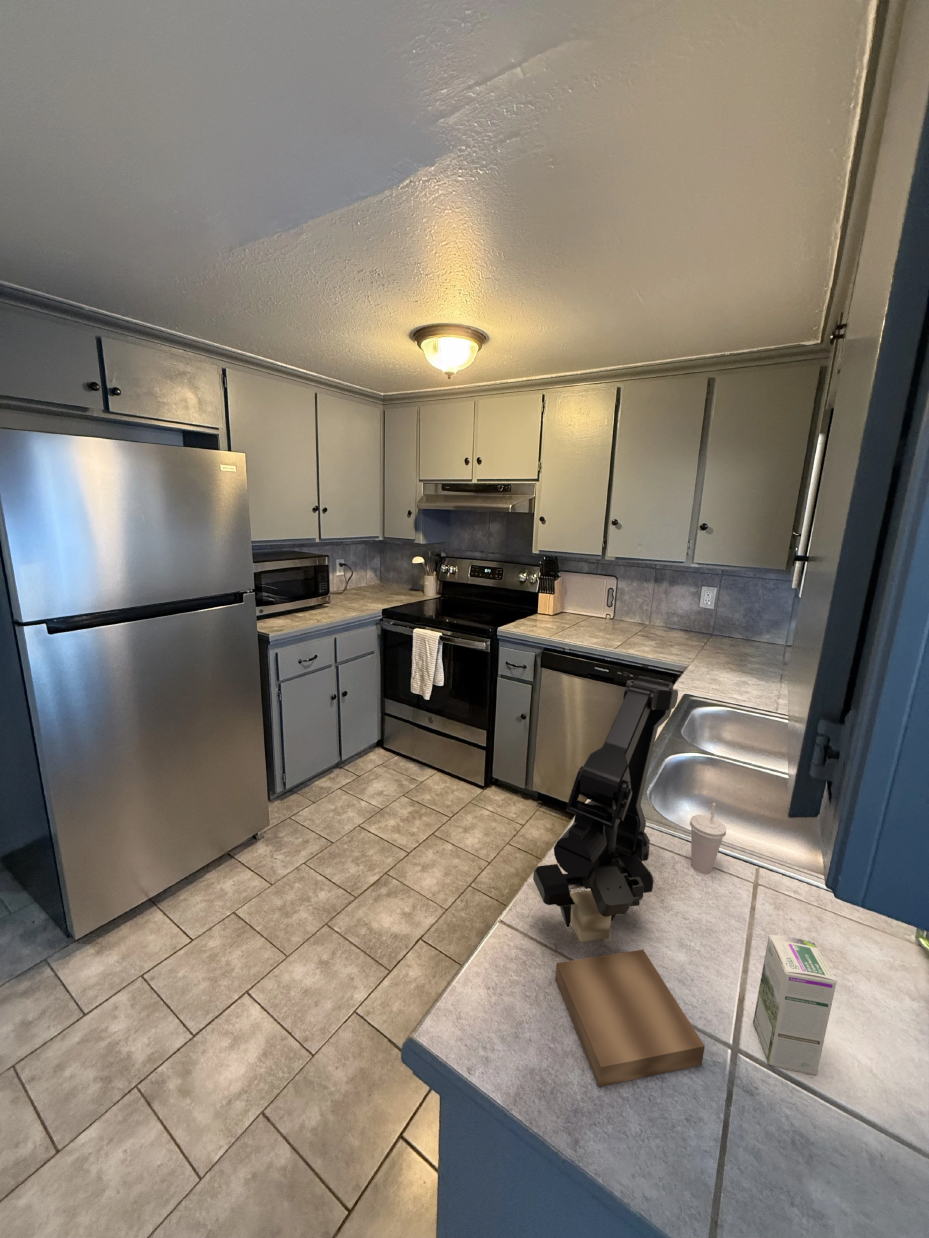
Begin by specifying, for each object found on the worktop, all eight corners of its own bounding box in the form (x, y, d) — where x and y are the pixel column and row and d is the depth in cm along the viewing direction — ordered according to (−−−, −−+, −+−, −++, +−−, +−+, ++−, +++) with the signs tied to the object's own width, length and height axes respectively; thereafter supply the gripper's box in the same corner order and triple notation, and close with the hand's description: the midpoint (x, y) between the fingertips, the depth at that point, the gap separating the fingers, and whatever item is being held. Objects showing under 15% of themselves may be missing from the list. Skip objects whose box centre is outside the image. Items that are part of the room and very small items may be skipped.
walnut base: (641, 965, 75) (643, 949, 74) (701, 1064, 61) (704, 1045, 61) (555, 979, 72) (556, 962, 71) (598, 1086, 58) (601, 1067, 58)
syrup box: (818, 1077, 60) (841, 981, 57) (766, 1065, 61) (786, 970, 58) (797, 1031, 66) (817, 940, 63) (750, 1020, 67) (767, 931, 64)
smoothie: (725, 879, 93) (736, 814, 91) (692, 878, 94) (702, 813, 91) (709, 856, 100) (719, 795, 97) (678, 855, 100) (687, 793, 97)
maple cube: (595, 914, 84) (597, 889, 83) (608, 938, 79) (611, 912, 78) (567, 918, 83) (570, 892, 82) (580, 942, 78) (582, 916, 77)
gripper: (561, 882, 68) (553, 974, 72) (680, 868, 72) (667, 956, 75) (535, 832, 79) (529, 914, 82) (639, 822, 83) (629, 901, 86)
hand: (588, 922), depth 81 cm, fingers open, 7 cm apart
